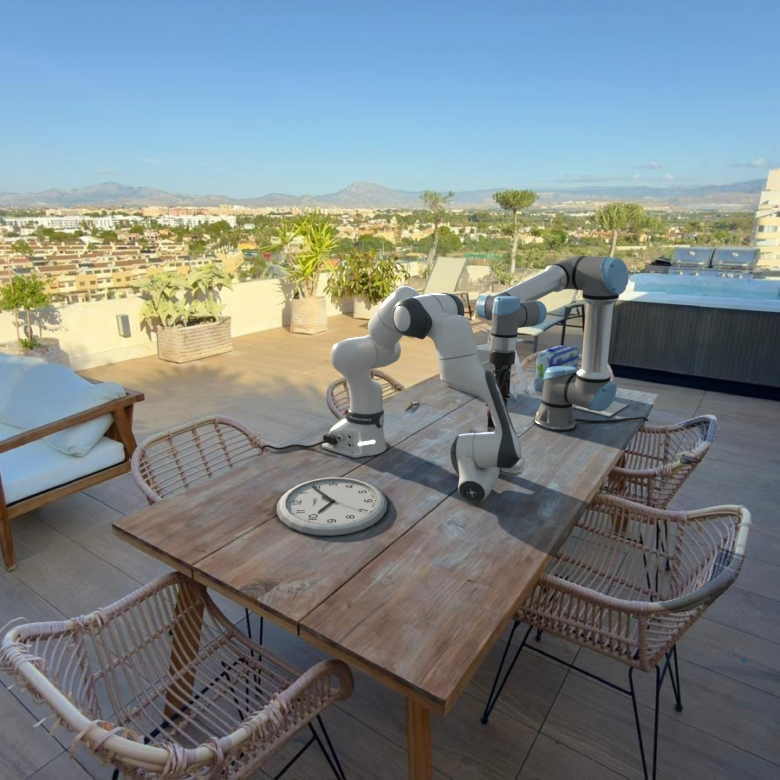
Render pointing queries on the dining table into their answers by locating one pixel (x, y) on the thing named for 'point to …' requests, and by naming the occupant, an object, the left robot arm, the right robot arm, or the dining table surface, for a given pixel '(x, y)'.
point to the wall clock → (331, 506)
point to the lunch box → (554, 362)
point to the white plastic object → (484, 358)
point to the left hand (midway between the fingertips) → (494, 450)
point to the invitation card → (609, 411)
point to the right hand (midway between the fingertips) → (496, 422)
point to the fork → (413, 403)
